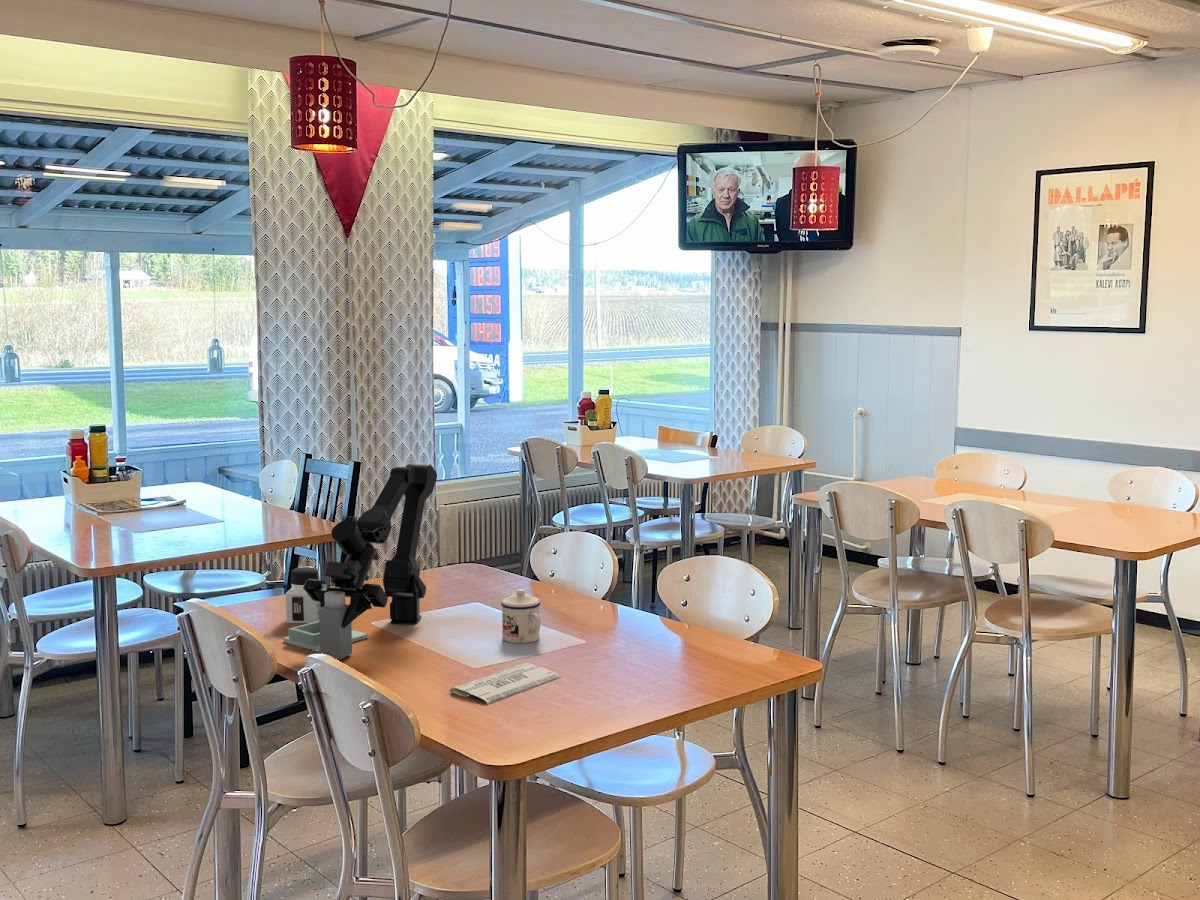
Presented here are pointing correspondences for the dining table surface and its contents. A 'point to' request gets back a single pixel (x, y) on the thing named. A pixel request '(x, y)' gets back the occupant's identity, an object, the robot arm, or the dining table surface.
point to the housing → (312, 636)
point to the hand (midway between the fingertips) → (332, 626)
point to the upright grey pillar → (334, 626)
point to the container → (301, 597)
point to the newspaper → (506, 682)
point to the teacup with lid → (520, 618)
